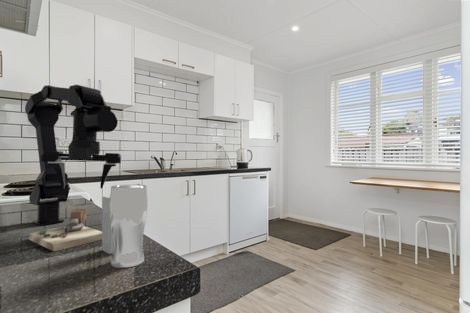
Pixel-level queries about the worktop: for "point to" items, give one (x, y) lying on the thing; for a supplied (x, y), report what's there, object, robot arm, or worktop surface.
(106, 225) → the skincare box
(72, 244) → the dial board
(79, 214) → the gauge needle
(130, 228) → the beer glass
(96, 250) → the worktop surface
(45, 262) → the worktop surface
